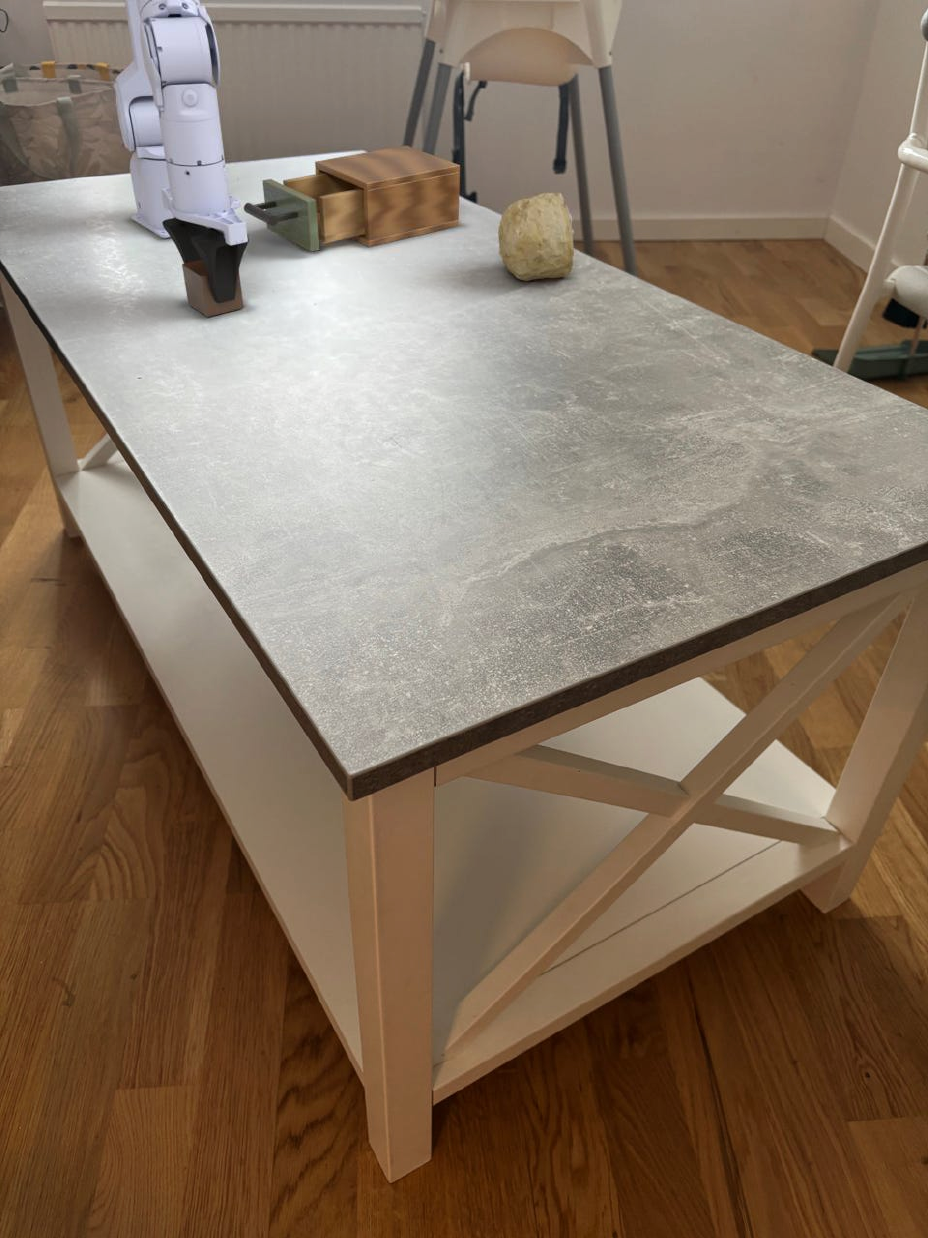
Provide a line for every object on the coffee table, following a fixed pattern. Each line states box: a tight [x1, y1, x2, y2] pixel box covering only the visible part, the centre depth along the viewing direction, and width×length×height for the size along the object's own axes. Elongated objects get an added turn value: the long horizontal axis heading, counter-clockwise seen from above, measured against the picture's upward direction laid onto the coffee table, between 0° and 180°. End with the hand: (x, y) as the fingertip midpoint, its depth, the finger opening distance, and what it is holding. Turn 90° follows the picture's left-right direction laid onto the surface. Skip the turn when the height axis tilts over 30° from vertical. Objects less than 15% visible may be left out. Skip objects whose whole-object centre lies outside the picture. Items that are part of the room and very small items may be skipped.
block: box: [181, 260, 244, 318], centre depth 103 cm, size 4×4×4 cm
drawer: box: [243, 172, 365, 252], centre depth 120 cm, size 18×10×6 cm, turn 129°
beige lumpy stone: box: [497, 192, 575, 282], centre depth 112 cm, size 10×10×10 cm
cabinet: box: [314, 145, 461, 248], centre depth 125 cm, size 15×12×8 cm
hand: (214, 293), depth 104 cm, fingers closed on block, 4 cm apart
